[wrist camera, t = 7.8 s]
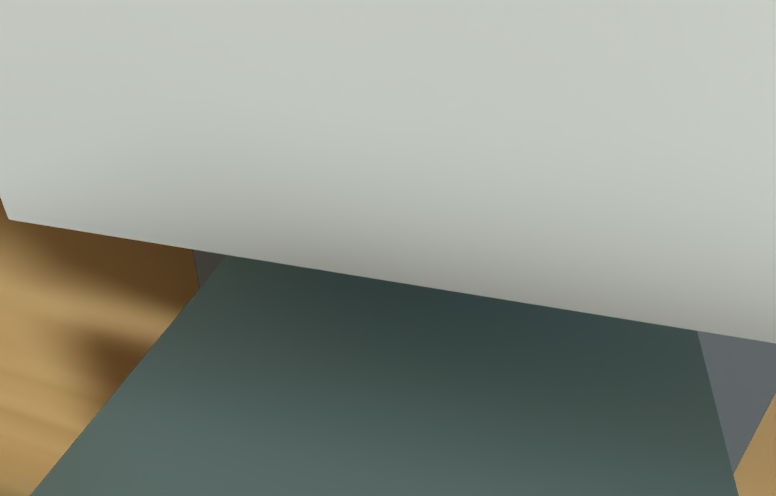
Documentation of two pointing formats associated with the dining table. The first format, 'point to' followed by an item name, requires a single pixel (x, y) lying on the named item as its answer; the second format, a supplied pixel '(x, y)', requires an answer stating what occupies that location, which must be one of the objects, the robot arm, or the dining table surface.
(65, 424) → the dining table surface
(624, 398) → the block
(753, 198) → the din board
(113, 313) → the dining table surface
